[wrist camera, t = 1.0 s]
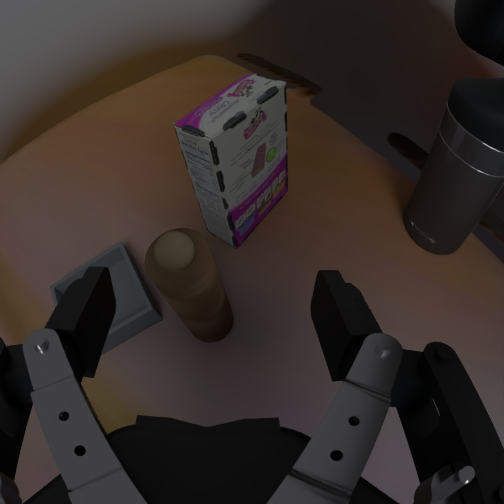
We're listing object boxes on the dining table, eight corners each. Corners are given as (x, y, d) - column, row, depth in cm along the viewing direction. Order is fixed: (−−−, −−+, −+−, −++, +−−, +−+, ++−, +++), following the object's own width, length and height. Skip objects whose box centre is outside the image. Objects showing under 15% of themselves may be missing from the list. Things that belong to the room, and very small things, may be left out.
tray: (130, 254, 38) (121, 241, 35) (162, 319, 33) (153, 308, 31) (62, 296, 35) (50, 286, 33) (84, 364, 30) (69, 357, 28)
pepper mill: (219, 291, 34) (185, 200, 22) (242, 326, 32) (218, 247, 19) (181, 314, 33) (125, 233, 21) (202, 350, 31) (150, 287, 18)
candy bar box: (258, 177, 43) (248, 70, 29) (288, 191, 41) (290, 81, 28) (204, 232, 39) (170, 122, 25) (236, 251, 37) (212, 138, 23)
